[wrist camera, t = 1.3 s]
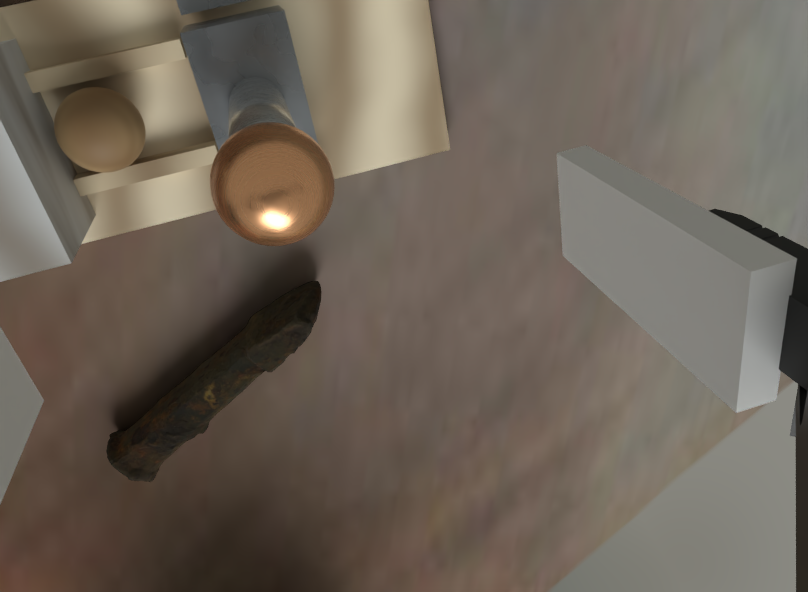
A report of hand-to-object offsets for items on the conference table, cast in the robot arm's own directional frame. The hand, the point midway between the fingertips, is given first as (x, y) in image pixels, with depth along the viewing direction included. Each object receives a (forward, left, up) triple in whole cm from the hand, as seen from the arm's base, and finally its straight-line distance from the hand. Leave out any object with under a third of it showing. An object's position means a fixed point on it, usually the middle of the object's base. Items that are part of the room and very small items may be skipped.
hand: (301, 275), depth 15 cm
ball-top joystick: (0, 0, -25) cm, 25 cm away
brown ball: (-9, 0, -26) cm, 27 cm away
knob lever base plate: (-3, 0, -27) cm, 27 cm away
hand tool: (-8, -18, -28) cm, 34 cm away
